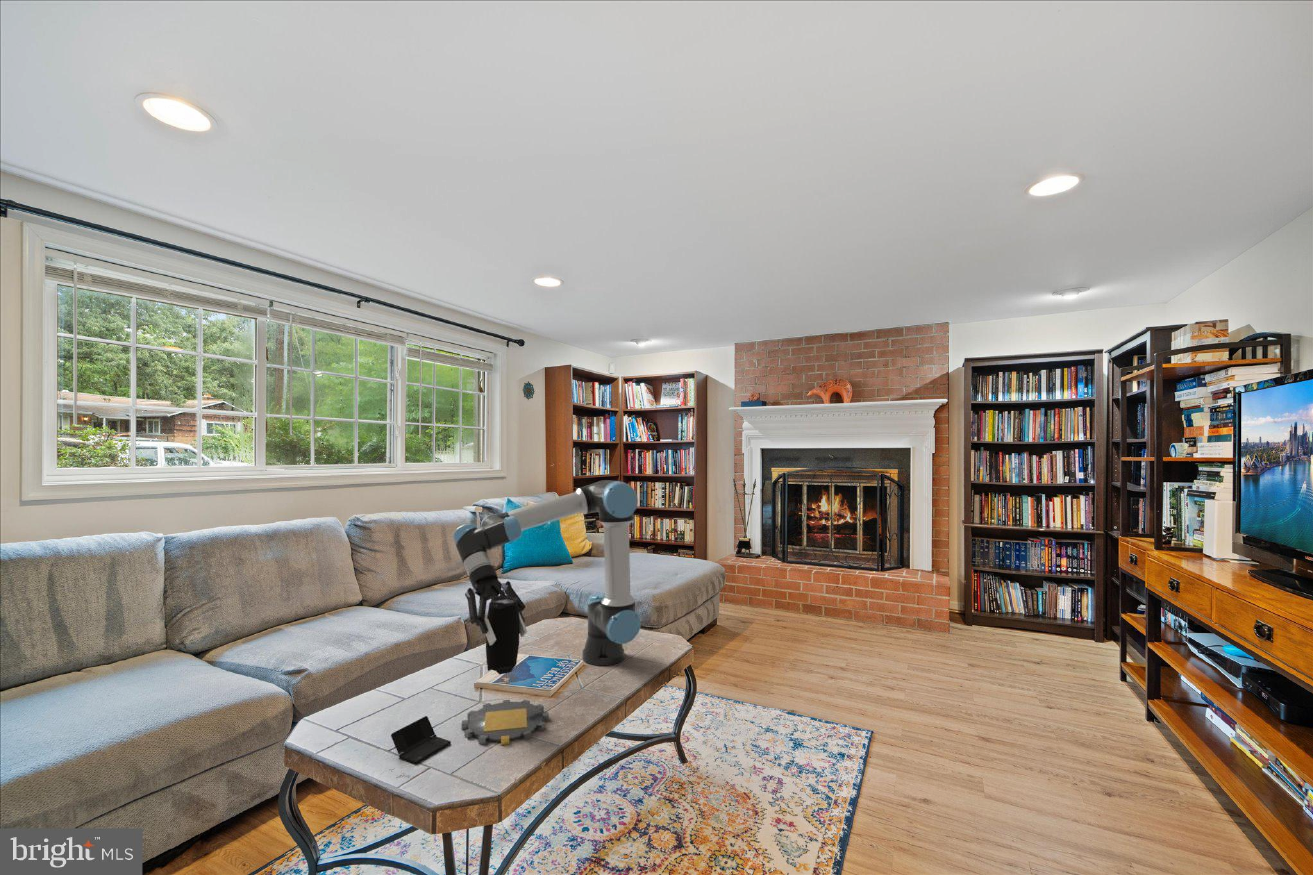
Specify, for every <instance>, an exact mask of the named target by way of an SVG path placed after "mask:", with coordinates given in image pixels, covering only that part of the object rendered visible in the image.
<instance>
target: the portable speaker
mask: <svg viewBox="0 0 1313 875" xmlns="http://www.w3.org/2000/svg"><path fill="white" fill-rule="evenodd" d="M518 603H519V601H518V598H516V597H514V598H511V597H505V596H500V595H498V596H496V597H493V598H492V599H490V602H488V609H487V610H488V611H487V615H486V617H487V618H486V619H488V620H489V623H490V625H491V628H492V630H493V633H494V635H495V637H496V641H495V642H494V644H493V645H489V642H488V640H487V637H486V636H485V656H486V665H487V668H486V669H487V672H490V671H494V672H496V673H497V674H499V675H505V674H508V673H512V672H513V670H514V668H515V667H516V666H517V662H518V655H519V650H520V649H519V646H520V633H519V624H520V617H519V608H518Z"/></svg>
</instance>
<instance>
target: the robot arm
mask: <svg viewBox="0 0 1313 875" xmlns="http://www.w3.org/2000/svg"><path fill="white" fill-rule="evenodd" d="M638 503H639V502H638V495H637V492H636V490H635V489H634V488H633V487H632V485H630V484H628V483H625V482H623V481H621V480H620V481H619V480H609V479H604V480H599V481H597V482H593V483H591V484H588V485H585V486H582V487H579V488H577V489H576V490H575V492H571V493H567V494H565V495H564V494H563V495H560V496H557V497H553V498H551V499H550V498H549V499H546V500H544V501H539V502H536V503H533V504H530V505H526V506H522V507H519V508H515V509H513V510H508V511H506V512H502V513H498V514H494V513H493V514H489V515H486V516H484V518H483V519H482V520H481V523H480V527H477V526H476V525H475V524H474V523H468V524H467V523H464V524H461V526H459V527H457V528H456V530H454V532H453V533H452V534H453V536H452V538H453V541H454V544H455V547H456V550H457V552H458V554H459V557H460V559H461V562H462V564H463V566H464V569H465V571H466V573H467V576H468V579H469V581H470V584H471V586H472V588H471V587H468V588H467V590H466V591H465V594H464V596H465V598H466V599H467V606H468V614H469V623H470V624H472V625H474V624H475V625H476V626H477V627H479V629H480V631H481V633H482V634H483V635H485V638H486V637H487V640H488V642H489V645H493V644H494V642H495V641H496V637H495V635H494V633H493V630H492V628H491V625H490V623H489V620H488V619H487V618H486V609H487V602H488V601H489V600H490V601H491V599H492V598H493V597H496V596H505V597H511V598H514V597H516V598H518V601H519V603H518V608H519V617H520V624H519V636H520V637H521V638H523V637H525V636H526V634H527V633H528V630H527V626H526V625H525V621H526V619H525V617H524V615H523V611H525V609H526V605H525V603H524V602H523V601H522V599H521V598H520V597H519V595H518V594H517V592H516V591H515V590H514V588H513V587H512V586H513V585H512V583H511V582H510V581H509V580H507V581H506V582H504V583H503V582H501V581H500V580H499V577H498V574H497V571H496V569H495V567H494V564H493V562H492V560H491V558H490V554H489V553H488V551H492V550H493V549H496V548H498V547H501V546H504V545H506V544H509V543H511V542H512V543H513V542H514V541H516V540H518V539H520V538H521V537H522V535H523V531H524V530H528V529H531V528H535V527H538V526H542V525H544V524H548V523H552V522H555V521H558V520H561V519H565V518H568V517H571V516H574V515H577V514H582V515H588V514H592V513H598V522H599V523H600V524H601V525H602V526H603V548H604V552H603V553H604V557H603V558H604V587H605V588H604V591H605V592H600V593H598V592H597V593H593V594H591V595H589V596H588V601H587V602H588V603H587V637H586V641H585V643H584V648H583V650H582V660H583V661H584V662H585V663H587V664H590V665H594V666H610V665H611V666H612V665H616V664H619V663H620V662H623V661H624V660H625V649H624V647H623V645H625V644H628V643H630V642H632V641H633V640H634V639H635V638H636V636H638V634H639V633H640V630H641V623H642V622H641V618H640V616H639V614H638V613H637V612H636V599H635V598H634V597H633V596H632V594H631V562H630V529H629V527H630V525H631V523H632V522H634V512H635V511H636V509H637V508H638V505H639V504H638ZM476 595H477V596H478V597H479V601H478V608H477V600H476Z"/></svg>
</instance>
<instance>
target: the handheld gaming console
mask: <svg viewBox="0 0 1313 875" xmlns="http://www.w3.org/2000/svg"><path fill="white" fill-rule="evenodd" d="M390 737H391V740H392V743H393V744H394V747H395V749H396V751H397V754H398V759H399V760H402V761H405V762H408V763H410V764H413V765H415V766H416V765H419V764H420V763H422V762H423V761H425V760H427V759H428V758H431V757H432V756H434V755H435V754H438V753H439V752H441V751H442V750H444V749H446V748H447V747H449V746H451V743H452V742H451V740H448V739H445V738H442V737H439V736H437V734H436V732H435V730H434V728H433V726H432V724H431V722H430V720H429V716H427V715H425V716H423V717H421V718H419V719H418V720H415V721H414V722H412V723H410V724H408V725H405V726H403V727H402V728H400V729H398V730H396V731H394V732H392V733H391V734H390Z"/></svg>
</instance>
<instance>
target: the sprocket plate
mask: <svg viewBox="0 0 1313 875" xmlns="http://www.w3.org/2000/svg"><path fill="white" fill-rule="evenodd" d="M544 711H545V707H544V705H542V704H541V703H539V704H537V705H535V704H532V703H531V700H527V699H523V700H522V701H511V699H502V702H498V703H494V704H492V703H490V702H488V703H485V704H483V705H482V707H481V708H479V709H478V710H470V711H469V712H468V713H467V719H465V720H464V719H463V720H461V730H464V731H463V732H464V735H463V736H464V738H466V739H467V740H469V739H472V738H474V739H477V740H478V741H477V742H478V744H479V745H483V746H484V745H485V746H486V745H487V744H488V743H500V745H501V746H503V745H504V746H505V745H509V744H510V742H512V741H517V740H520V739H522V740H523V741H527V740H530V739H532V734H534V733H536V732H543V731H544V730H545V729H546V723H547V722H548V721H550V720H549V718H550V717H549V716H550V714H549V711H547V712H544Z"/></svg>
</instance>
